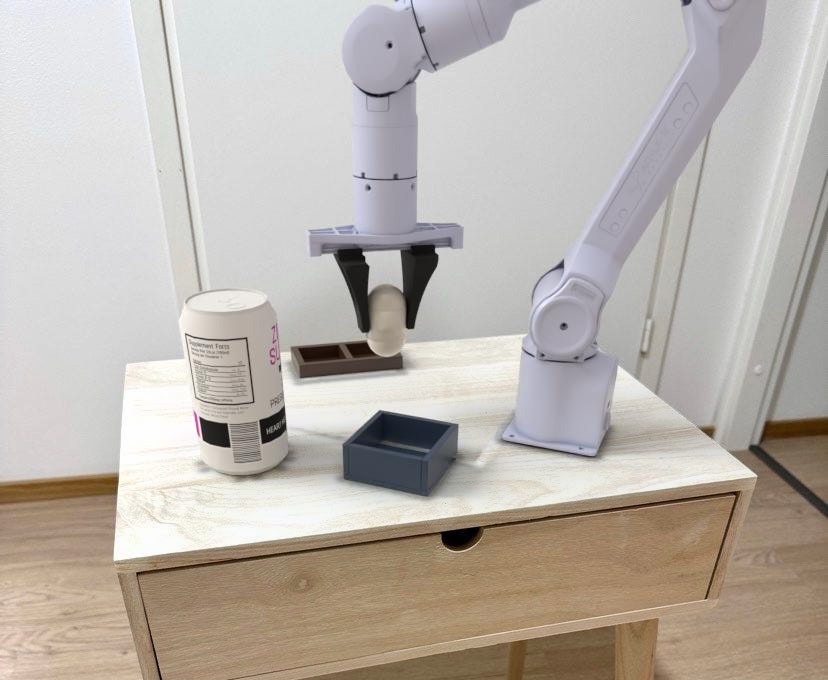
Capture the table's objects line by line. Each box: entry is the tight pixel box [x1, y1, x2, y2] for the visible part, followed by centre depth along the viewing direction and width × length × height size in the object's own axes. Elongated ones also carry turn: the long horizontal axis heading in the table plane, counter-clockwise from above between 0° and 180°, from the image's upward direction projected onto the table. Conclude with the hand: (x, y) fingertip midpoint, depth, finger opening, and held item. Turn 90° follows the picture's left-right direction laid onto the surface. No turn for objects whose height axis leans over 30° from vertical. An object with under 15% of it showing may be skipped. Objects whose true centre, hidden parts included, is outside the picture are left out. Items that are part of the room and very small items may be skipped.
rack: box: [290, 339, 404, 379], centre depth 91 cm, size 7×12×2 cm, turn 106°
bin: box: [341, 409, 460, 497], centre depth 70 cm, size 8×8×4 cm
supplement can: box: [178, 287, 289, 476], centre depth 68 cm, size 8×8×15 cm
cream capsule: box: [365, 283, 407, 357], centre depth 74 cm, size 4×4×7 cm
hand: (386, 327), depth 74 cm, fingers closed on cream capsule, 4 cm apart
